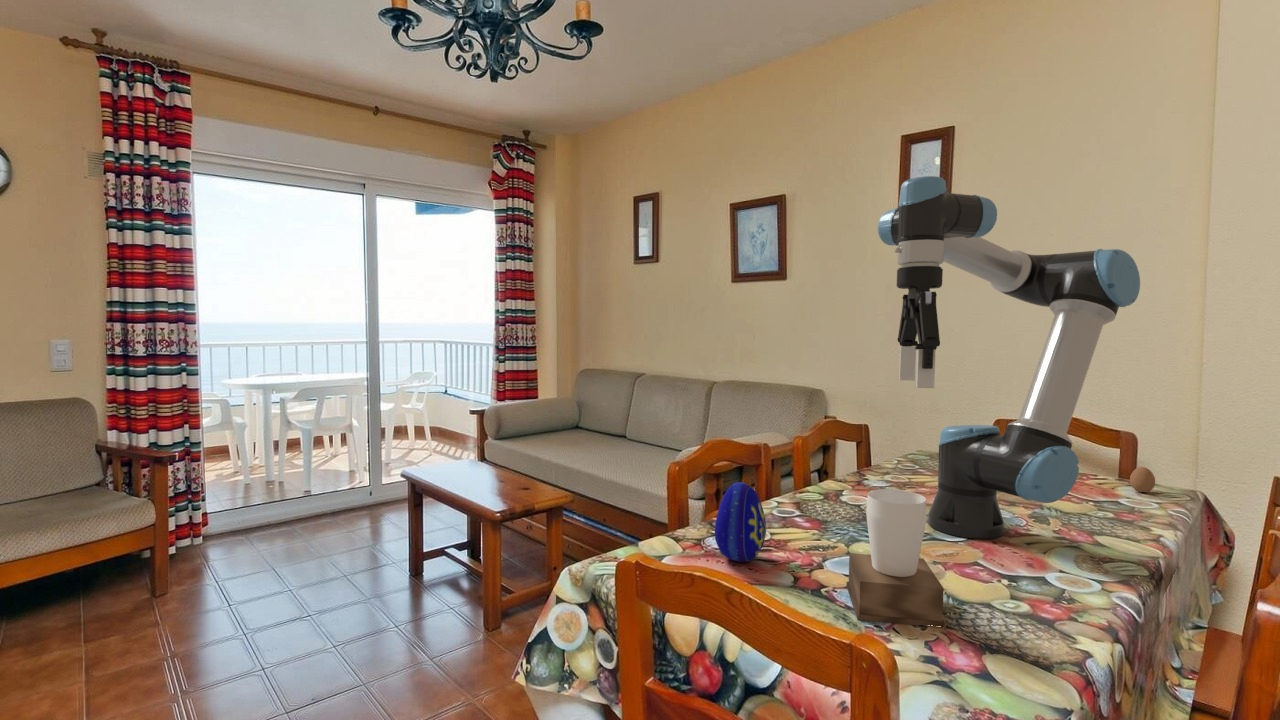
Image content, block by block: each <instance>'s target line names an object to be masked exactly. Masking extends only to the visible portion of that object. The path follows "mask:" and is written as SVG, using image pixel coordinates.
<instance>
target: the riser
mask: <svg viewBox="0 0 1280 720" xmlns="http://www.w3.org/2000/svg"><path fill="white" fill-rule="evenodd" d="M848 555H849V556H848V557H849V558H848V559H849V560H848V561H849V562H848V581H846V588H847V592H848V595H849V598H850V602H851V605H852V606H853V607H852V608H853V610H854V613H855V618H856V620H857V621H866V622H867V621H868V622H876V623H887V624H897V625H898V624H900V625H907V626H908V625H910V626H919V625H930V626H931V625H933V626H941V627H945V628H946V622H945V620H944V619H943V612H944V611H943V610H944V590H945V589H944V587H943V585H942V584H941V582H940V581H939V579H938V577H937V576H936V574H935V573H934V572H933V570H932V569H931V568H930V566H929V565H928V563H927V562H926V560H925V559H924V558H921V557H919V561H918V566H917V571H916V573H915V574H914V575H912V576H908V577H895V576H889V575H886V574H883V573H880V572H878V571H877V570H875V569H874V568H873V566H872V559H871V554H865V553H853V552H849V554H848ZM930 626H929V627H930Z"/></svg>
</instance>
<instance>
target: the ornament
mask: <svg viewBox="0 0 1280 720" xmlns="http://www.w3.org/2000/svg"><path fill="white" fill-rule="evenodd" d="M766 522H767V521H766V517H765V512H764V509H763V505H762V502H761V499H760V498H759V496H758V493H757V492H756V490H755V488H753V487H752V486H751V485H749V484H748V483H746V482H742V481H739V482H738V481H737V482H734V483H732V484H731V485H730V486H729V487H728V488H727V490H726V491H725V493H724V494H723V497H722V499H721V501H720V504H719V506H718V510H717V515H716V519H715V522H714V539H715V542H716V543H715V544H716V545H717V548H718V550H719V551H720V553H721V554H722V555H723V556H725V557H726V558H727V559H729V560H731V561H734V562H738V563H739V562H741V563H745V562H751V561H753V559H755V558H756V557H757V556H758V555H759V553H760V551H761V550H762V548H763V546H764V543H765V540H766V539H765V538H766V535H767V523H766Z"/></svg>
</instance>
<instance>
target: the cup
mask: <svg viewBox="0 0 1280 720" xmlns="http://www.w3.org/2000/svg"><path fill="white" fill-rule="evenodd" d="M865 511H866V513H865V514H866V523H867V532H868V540H869V549H870V555H871V559H872V566H873V568H874V569H875V570H877V571H878V572H880V573H883V574H886V575H889V576H895V577H908V576H912V575H914V574H915V573H916V571H917V566H918V561H919V558H920V554H921V549H922V546H923V545H922V544H923V539H924V534H925V530H926V529H925V528H926V523H927V520H928V518H927V516H928V514H927V498H926V497H925V496H923V495H921V494H919V493H916V492H912V491H908V490H902V489H892V488H891V489H890V488H880V489H873V490H870V491H868V492H867V501H866V508H865Z"/></svg>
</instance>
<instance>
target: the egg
mask: <svg viewBox="0 0 1280 720" xmlns="http://www.w3.org/2000/svg"><path fill="white" fill-rule="evenodd" d="M1129 483H1130V486H1131V487H1132V488H1133V490H1135V491H1136V492H1138V491H1140V492H1146V493H1149V492H1151V491H1152V490H1153V489H1154V488H1155V486H1156V477H1155V475H1154V474H1153V472H1152V471H1151V470H1150V469H1149V468H1147V467H1145V466H1140V467H1137V468H1135V469H1134V470H1132V473H1131V474H1130V477H1129ZM1140 492H1139V493H1140Z"/></svg>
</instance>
